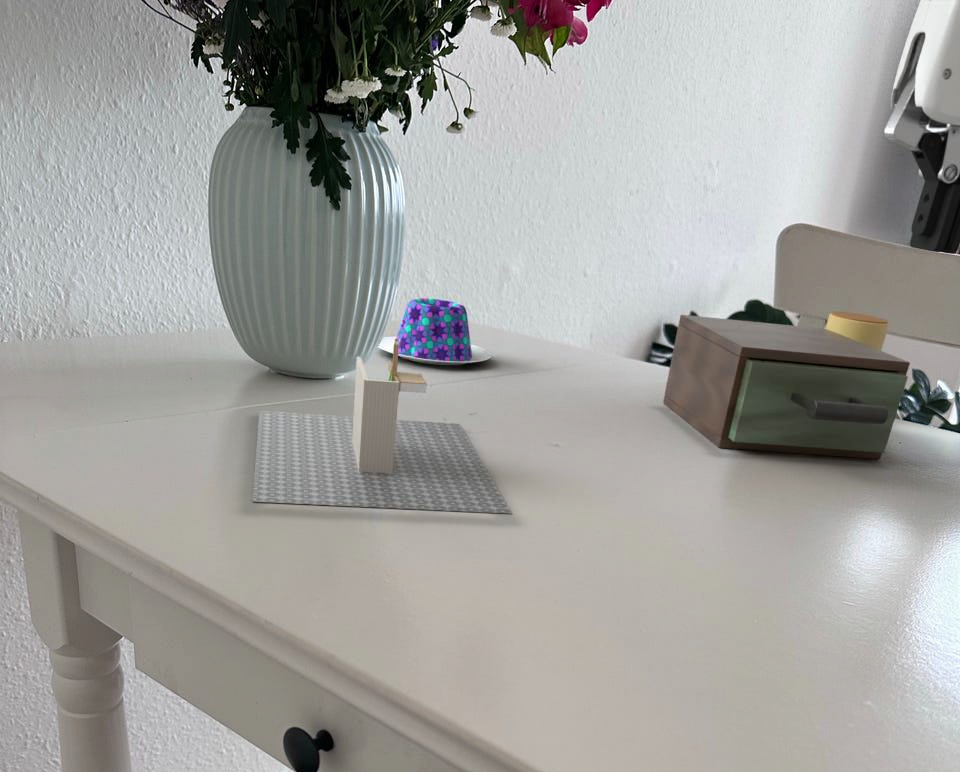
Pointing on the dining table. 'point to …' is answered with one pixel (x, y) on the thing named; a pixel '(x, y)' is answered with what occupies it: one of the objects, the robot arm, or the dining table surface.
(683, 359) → the cabinet
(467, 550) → the dining table surface
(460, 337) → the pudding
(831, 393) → the drawer
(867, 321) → the biscuit roll
